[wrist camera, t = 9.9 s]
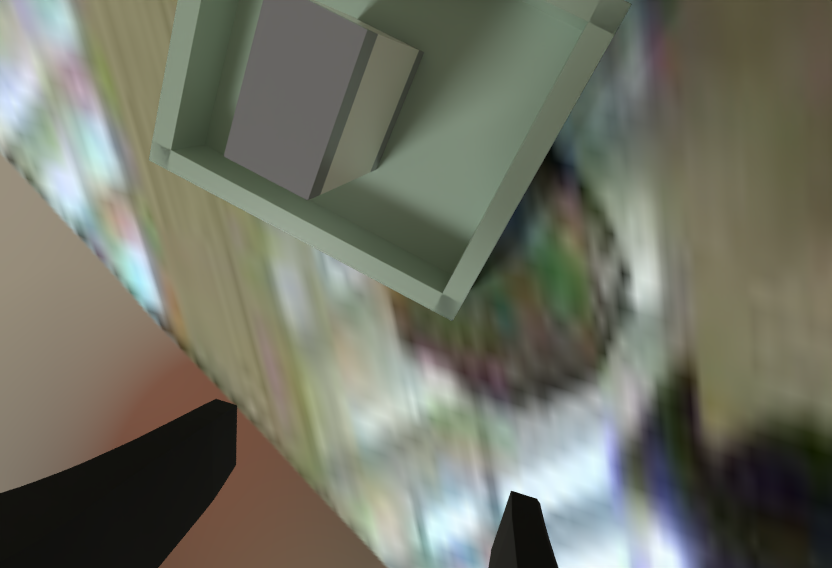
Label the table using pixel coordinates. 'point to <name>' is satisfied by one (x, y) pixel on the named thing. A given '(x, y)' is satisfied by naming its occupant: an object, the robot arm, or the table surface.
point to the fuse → (318, 97)
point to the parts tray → (400, 130)
